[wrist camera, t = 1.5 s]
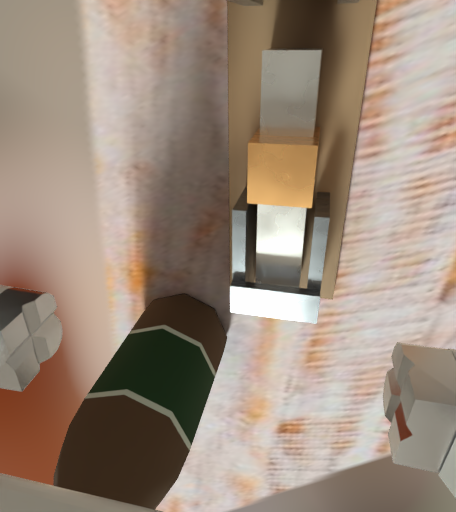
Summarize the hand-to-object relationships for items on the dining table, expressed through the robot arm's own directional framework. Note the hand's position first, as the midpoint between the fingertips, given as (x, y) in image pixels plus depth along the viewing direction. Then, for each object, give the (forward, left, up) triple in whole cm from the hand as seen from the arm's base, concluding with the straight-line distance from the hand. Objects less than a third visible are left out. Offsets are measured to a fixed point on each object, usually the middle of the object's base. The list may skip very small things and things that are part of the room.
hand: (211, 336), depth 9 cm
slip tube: (0, +1, -17) cm, 17 cm away
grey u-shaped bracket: (0, +6, -18) cm, 19 cm away
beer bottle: (+8, +16, -19) cm, 26 cm away
